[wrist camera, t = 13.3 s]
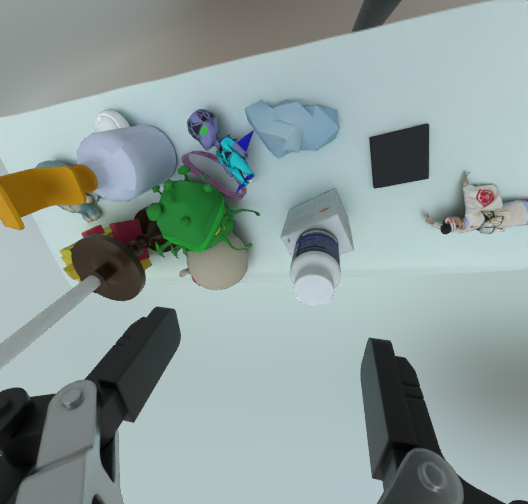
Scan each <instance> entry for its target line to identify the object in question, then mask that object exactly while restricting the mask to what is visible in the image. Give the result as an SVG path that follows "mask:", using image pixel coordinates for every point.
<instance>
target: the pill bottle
mask: <svg viewBox="0 0 528 504" xmlns="http://www.w3.org/2000/svg"><path fill="white" fill-rule="evenodd" d="M290 277H291V280H292V282H293V284H294V289H293V290H294V294H295V296H296V298H297V299H298V300H299V301H300V302H302V303H304V304H306V305H308V306H322V305H325V304H327V303H328V302H329V301H330V300H331V299H332V298H333V296H334V289H335V288H336V287H337V285H338V284H339V281H340V277H341V269H340V256H339V242H338V239H337V237H336V235H335V234H334V233H333V232H332V231H331V230H329V229H327V228H325V227H321V226H314V227H310V228H307V229H305V230H304V231H303V232H301V233H300V235H299V236H298V238H297V241H296V244H295V249H294V253H293V258H292V263H291V267H290Z"/></svg>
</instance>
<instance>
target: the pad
mask: <svg viewBox="0 0 528 504" xmlns="http://www.w3.org/2000/svg"><path fill="white" fill-rule="evenodd" d="M370 150H371V162H372V174H373V186H374V189H375V188H381V187H386V186H391V185H397V184H402V183H407V182H413V181H418V180H423V179H428V178H429V124H424V125H420V126H416V127H412V128H407V129H403V130H399V131H395V132H391V133H387V134H382V135H378V136H374V137H370Z"/></svg>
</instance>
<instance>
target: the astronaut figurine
mask: <svg viewBox="0 0 528 504" xmlns="http://www.w3.org/2000/svg"><path fill="white" fill-rule="evenodd" d="M94 126H95V130H96V132H101V131H107V130H113V129H119V128H125V127H130V126H129V124H128V122H127V121H126V120H125V119H124V118H123V117H122V116H121V115H120V114H119V113H118V112H116V111H113V110H104V111H102V112H101V113H99V114H98V115H97V117H96V118H95V119H94Z"/></svg>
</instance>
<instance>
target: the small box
mask: <svg viewBox="0 0 528 504" xmlns="http://www.w3.org/2000/svg"><path fill="white" fill-rule="evenodd" d="M314 226H321V227H325V228H327V229H329V230H331V231H332V232H333V233H334V234H335V235H336V237H337V239H338V242H339V255H340V254H343V253H346V252H349V251H351V250H354V246H353V241H352V236H351V230H350V225H349V220H348V216H347V214H346V212H345V210H344V207H343V205H342V203H341V201H340V198H339V196H338V194H337V192H336V190H335V189H333V190H331V191H329V192H326V193H324V194H322V195H320V196H318V197H316V198H314V199H311V200H309V201H307V202H305V203H303V204H301V205H299V206H296V207H294V208H292V209H290V210H289V212H288V215H287V219H286V222H285V225H284V228H283V231H282V234H281V239H282V240H283V242H284V244H285V246H286V247H287V249H288V251H289V253H290V254H291V256H292V258H293V253H294V249H295V244H296V241H297V238H298V236H299V235H300V233H301V232H303V231H304V230H305V229H307V228H310V227H314Z"/></svg>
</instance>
